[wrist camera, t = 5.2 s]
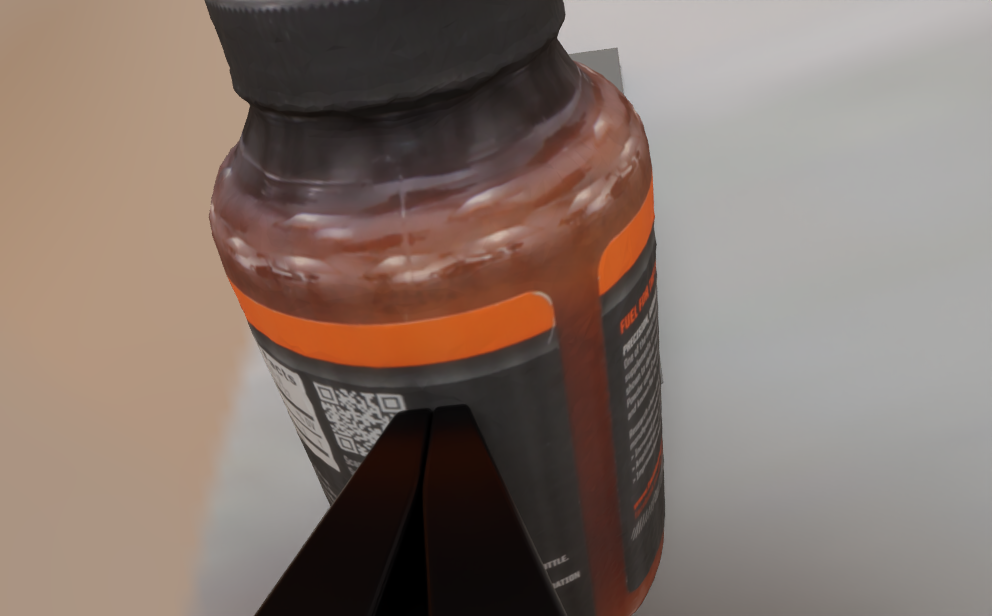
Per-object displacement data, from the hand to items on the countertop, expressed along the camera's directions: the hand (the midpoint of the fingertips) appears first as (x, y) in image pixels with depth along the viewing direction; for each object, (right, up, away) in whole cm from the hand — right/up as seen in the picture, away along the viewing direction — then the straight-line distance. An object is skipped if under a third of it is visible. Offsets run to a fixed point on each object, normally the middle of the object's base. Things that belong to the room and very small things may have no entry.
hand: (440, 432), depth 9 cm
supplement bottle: (+1, -3, +6) cm, 7 cm away
